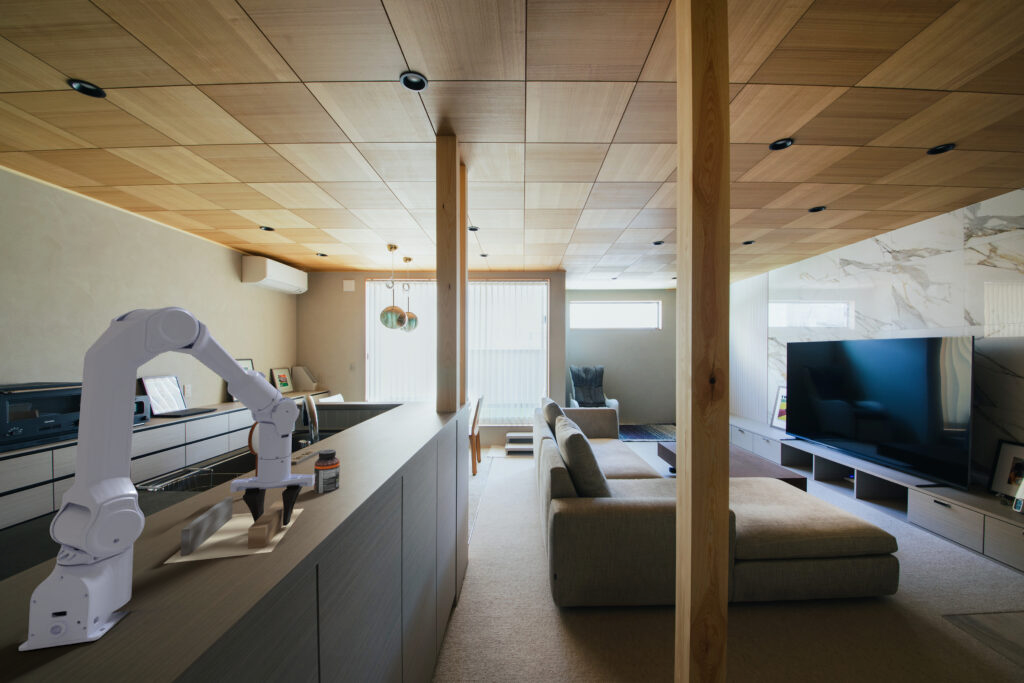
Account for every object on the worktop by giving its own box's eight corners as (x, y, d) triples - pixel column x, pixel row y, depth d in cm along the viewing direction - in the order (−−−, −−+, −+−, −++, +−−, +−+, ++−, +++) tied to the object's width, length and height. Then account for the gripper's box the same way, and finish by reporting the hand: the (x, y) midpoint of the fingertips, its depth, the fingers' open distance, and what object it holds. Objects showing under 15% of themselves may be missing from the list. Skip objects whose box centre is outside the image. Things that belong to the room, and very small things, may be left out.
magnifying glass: (250, 506, 92) (253, 422, 93) (243, 506, 92) (245, 422, 93) (270, 493, 100) (272, 417, 101) (263, 494, 100) (265, 417, 101)
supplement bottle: (314, 492, 101) (315, 449, 102) (338, 489, 104) (339, 447, 104) (313, 500, 96) (314, 454, 96) (339, 496, 98) (340, 452, 99)
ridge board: (270, 560, 67) (271, 525, 68) (163, 572, 64) (164, 535, 64) (303, 515, 87) (304, 488, 87) (222, 522, 83) (223, 494, 83)
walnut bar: (265, 547, 69) (265, 527, 69) (247, 549, 68) (248, 528, 69) (293, 512, 85) (293, 496, 85) (279, 513, 84) (279, 497, 84)
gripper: (319, 449, 83) (317, 513, 82) (242, 453, 79) (240, 520, 79) (310, 457, 76) (308, 527, 75) (226, 462, 72) (223, 535, 72)
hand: (273, 524), depth 76 cm, fingers open, 4 cm apart
